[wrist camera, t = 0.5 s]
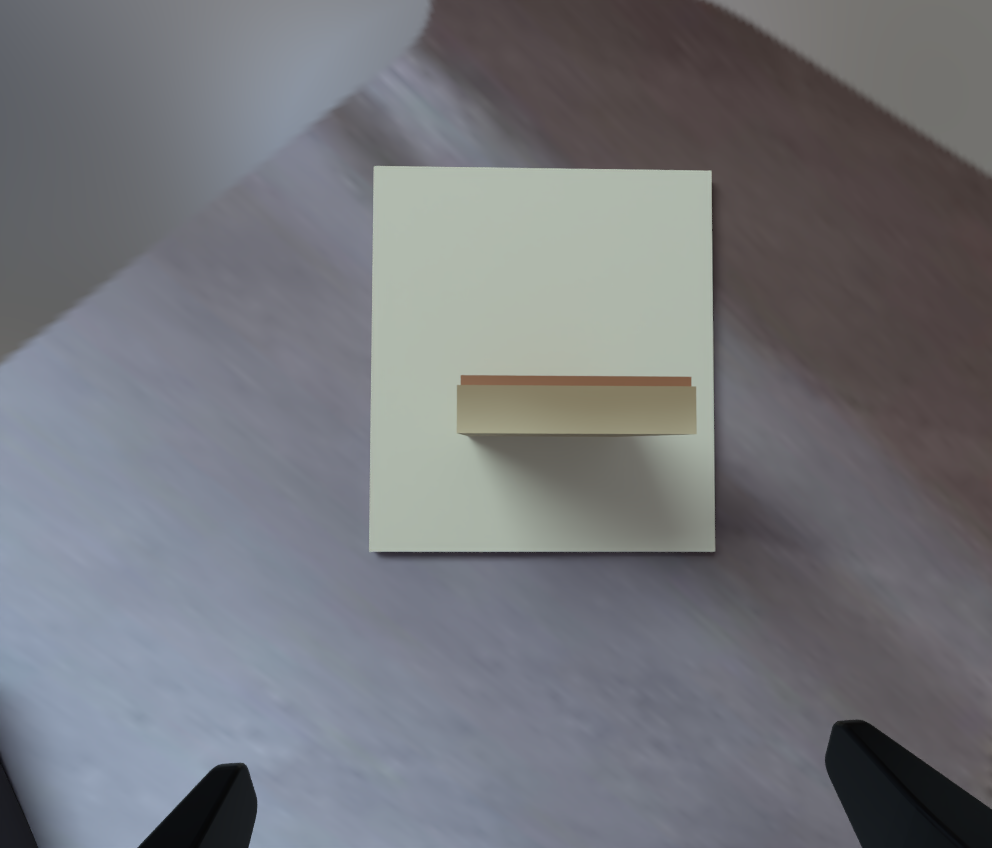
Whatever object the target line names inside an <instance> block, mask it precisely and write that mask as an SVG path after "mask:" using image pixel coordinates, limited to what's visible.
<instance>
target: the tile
mask: <svg viewBox="0 0 992 848" xmlns="http://www.w3.org/2000/svg"><path fill="white" fill-rule="evenodd" d="M457 433H458V434H462V435H465V436H541V437H628V436H659V435H689V434H697V416H696V386H691V377H669V376H516V375H461V385H457Z"/></svg>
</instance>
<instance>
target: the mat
mask: <svg viewBox="0 0 992 848" xmlns="http://www.w3.org/2000/svg"><path fill="white" fill-rule="evenodd" d="M461 375H516V376H669V377H691V386H696V416H697V434H689V435H659V436H628V437H541V436H465V435H462V434H458V433H457V385H461ZM369 552H715V485H714V384H713V283H712V182H711V171H691V170H620V169H549V168H478V167H407V166H374V197H373V279H372V361H371V442H370V524H369Z"/></svg>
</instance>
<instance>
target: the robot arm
mask: <svg viewBox="0 0 992 848" xmlns="http://www.w3.org/2000/svg"><path fill="white" fill-rule="evenodd" d="M825 765H826V769H827V772H828V775H829V778H830V780H831V782H832V784H833V786H834V788H835V790H836V793H837V795H838V797H839V799H840V801H841V803H842V806H843V808H844V810H845V812H846V814H847V816H848V818H849V821H850V823H851V825H852V827H853V829H854V831H855V833H856V836H857V838H858V840H859V842H860V844H861V846H862V848H992V809H990V808H989V807H988V806H986V805H985V804H983V803H982V802H981V801H979V800H978V799H976V798H975V797H973V796H972V795H971V794H969V793H968V792H966V791H965V790H963V789H962V788H961V787H959V786H958V785H956V784H955V783H953V782H952V781H951V780H949V779H948V778H946V777H945V776H944V775H942V774H941V773H939V772H938V771H936V770H935V769H934V768H932V767H931V766H929V765H928V764H926V763H925V762H924V761H922V760H921V759H919V758H918V757H917V756H915V755H914V754H912V753H911V752H909V751H908V750H907V749H905V748H904V747H902V746H901V745H899V744H898V743H897V742H895V741H894V740H892V739H891V738H890V737H888V736H887V735H885V734H884V733H882V732H881V731H880V730H878V729H877V728H875V727H874V726H872V725H871V724H869V723H867V722H865V721H863V720H845V721H837V722H836V723H835V724H834V725H833V727H832V731H831V735H830V739H829V743H828V747H827V751H826V755H825ZM256 814H257V797H256V793H255V790H254V787H253V783H252V780H251V777H250V774H249V770H248V768H247V766H246V765H245V764H244V763H229V764H220V765H217V766H216V767H214V768H213V769H212V770H211V771H209V773H208V774H207V775H206V776H205V777H204V778H203V779H202V780H201V781H200V782H199V783H198V784H197V785H196V786H195V787H194V788H193V789H192V791H191V792H190V793H189V794H188V795H187V796H186V797H185V798H184V799H183V800H182V801H181V802H180V803H179V804H178V805H177V806H176V807H175V808H174V810H173V811H172V812H171V813H170V814H169V815H168V816H167V817H166V818H165V819H164V820H163V821H162V822H161V823H160V824H159V825H158V826H157V827H156V829H155V830H154V831H153V832H152V833H151V834H150V835H149V836H148V837H147V838H146V839H145V840H144V841H143V842H142V843H141V844H140V845H139V847H138V848H248V847H249V843H250V839H251V835H252V831H253V827H254V823H255V819H256Z"/></svg>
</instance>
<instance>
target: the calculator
mask: <svg viewBox="0 0 992 848" xmlns="http://www.w3.org/2000/svg"><path fill="white" fill-rule="evenodd" d="M0 848H38V846H37V844H36V842H35V839H34V837H33V835H32V832H31V830H30V828H29V825H28V823H27V821H26V819H25V816H24V814H23V812H22V810H21V808H20V805H19V803H18V801H17V799H16V797H15V794H14V792H13V790H12V788H11V786H10V784H9V781H8V779H7V777H6V775H5V773H4V770H3V768H2V766H1V764H0Z"/></svg>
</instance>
